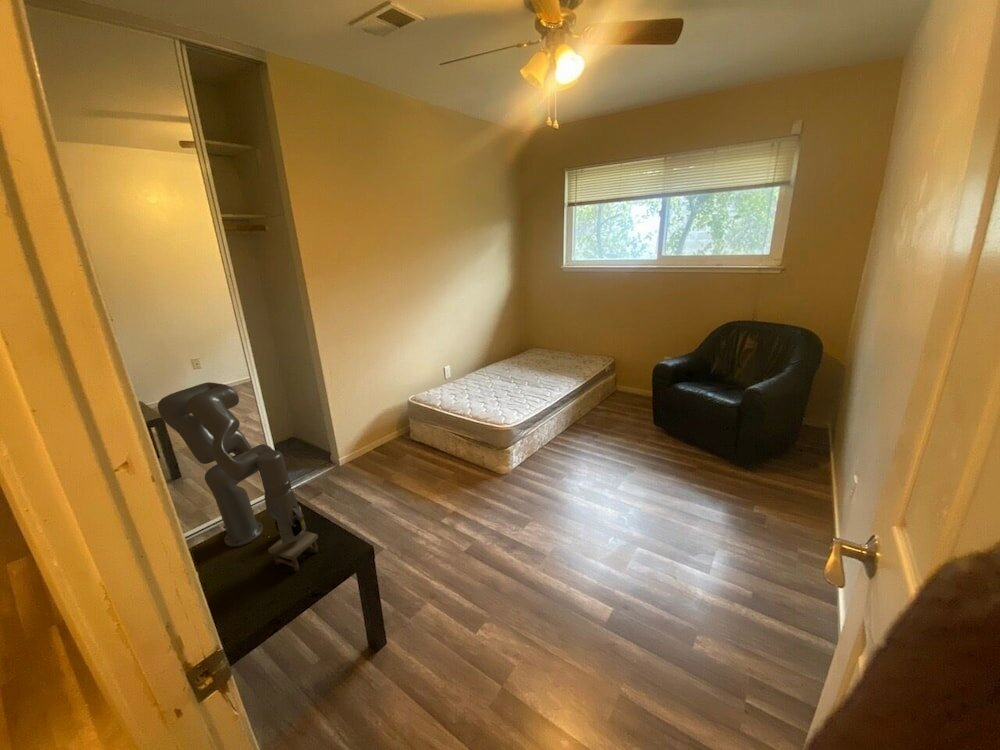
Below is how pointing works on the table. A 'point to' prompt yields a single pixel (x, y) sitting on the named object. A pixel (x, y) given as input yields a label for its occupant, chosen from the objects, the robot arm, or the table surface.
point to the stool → (293, 549)
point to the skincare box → (286, 531)
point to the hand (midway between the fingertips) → (289, 530)
